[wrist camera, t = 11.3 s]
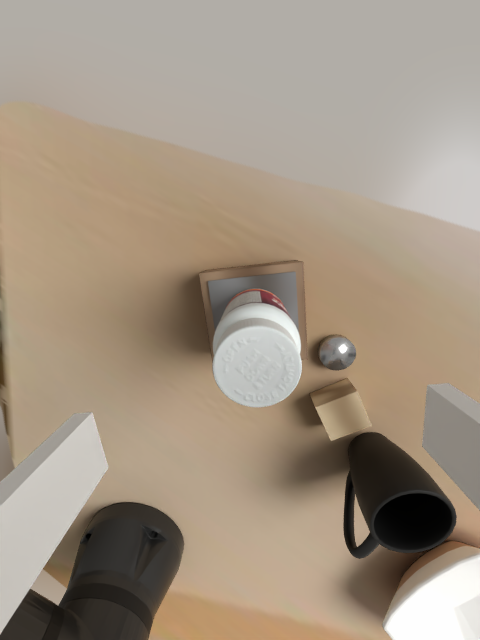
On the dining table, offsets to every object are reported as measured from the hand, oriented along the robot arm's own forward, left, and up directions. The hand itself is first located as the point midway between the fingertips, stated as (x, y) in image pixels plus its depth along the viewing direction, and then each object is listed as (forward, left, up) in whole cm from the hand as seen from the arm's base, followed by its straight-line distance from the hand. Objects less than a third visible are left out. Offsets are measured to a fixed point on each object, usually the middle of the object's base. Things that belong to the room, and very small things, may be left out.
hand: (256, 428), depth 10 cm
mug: (+12, -22, -20) cm, 32 cm away
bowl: (+26, -45, -21) cm, 56 cm away
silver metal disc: (+9, -6, -20) cm, 23 cm away
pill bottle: (0, 0, -16) cm, 16 cm away
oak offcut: (+9, -13, -20) cm, 26 cm away
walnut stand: (0, 0, -20) cm, 20 cm away
